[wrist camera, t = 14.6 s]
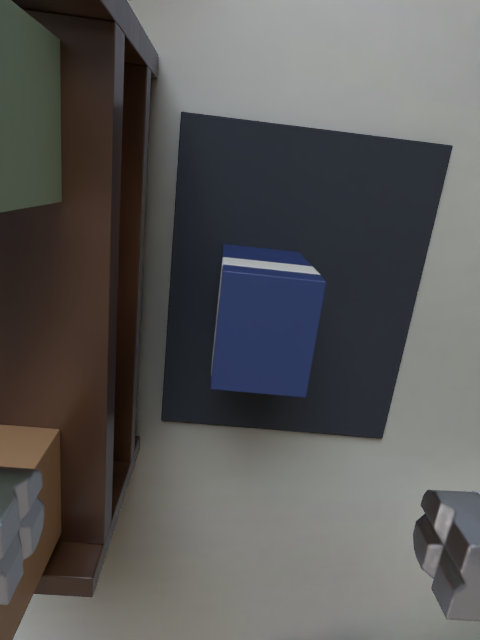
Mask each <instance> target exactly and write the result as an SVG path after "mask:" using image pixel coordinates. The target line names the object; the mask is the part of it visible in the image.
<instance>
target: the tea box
mask: <svg viewBox="0 0 480 640" xmlns="http://www.w3.org/2000/svg"><path fill="white" fill-rule="evenodd" d="M325 287H326V281H325V280H324V279H323V278H322V277H321V275H320V274H319V273H318V271H317V270H316V269H315V268H314V267H312V266H311V265H310V264H309V262H308V261H307V260H306V259H305V258H304V257H303V256H302V255H301V254H300V253H299V252H292V251H283V250H274V249H265V248H256V247H246V246H237V245H228V244H224V245H223V253H222V263H221V273H220V283H219V293H218V303H217V312H216V322H215V332H214V345H213V356H212V368H211V387H210V388H211V389H213V390H225V391H236V392H247V393H259V394H270V395H281V396H292V397H304V398H305V397H306V395H307V389H308V383H309V378H310V372H311V366H312V361H313V355H314V349H315V344H316V338H317V332H318V327H319V321H320V315H321V310H322V304H323V299H324V293H325Z"/></svg>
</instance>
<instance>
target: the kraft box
mask: <svg viewBox="0 0 480 640" xmlns="http://www.w3.org/2000/svg"><path fill="white" fill-rule="evenodd" d="M0 466H2V467H16V468H29V469H38V470H39V471H40V472H41V473H42V482H43V487H42V489H41V490H40V492H39V494H38V496H37V497H38V498H39V499H40V500H41V501H42V502H43V503H44V524H43V529H42V532H41V536H40V540H39V542H38V544H37V547H36V549H35V551H34V553H33V554H32V555H31V556H29V557H28V558H26V559H25V560H24V561H23V569H24V574H23V576H22V578H21V580H20V582H19V584H18V586H17V588H16V590H15V592H14V594H13V596H12V598H11V600H10V602H9V604H8V605H0V640H12V639H13V637H14V635H15V633H16V631H17V629H18V626H19V624H20V622H21V620H22V618H23V615H24V613H25V611H26V609H27V607H28V604H29V602H30V600H31V598H32V596H33V594H34V591H35V589H36V587H37V585H38V583H39V580H40V578H41V576H42V574H43V572H44V570H45V567H46V565H47V563H48V561H49V559H50V556H51V554H52V552H53V550H54V548H55V546H56V543H57V541H58V539H59V537H60V535H61V471H60V429H52V428H39V427H26V426H14V425H1V424H0Z"/></svg>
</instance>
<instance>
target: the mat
mask: <svg viewBox="0 0 480 640" xmlns="http://www.w3.org/2000/svg"><path fill="white" fill-rule="evenodd" d="M451 151H452V146H451V145H443V144H435V143H427V142H419V141H411V140H403V139H395V138H387V137H379V136H371V135H363V134H355V133H347V132H339V131H331V130H323V129H315V128H307V127H299V126H291V125H283V124H275V123H267V122H259V121H251V120H243V119H235V118H227V117H219V116H211V115H203V114H195V113H187V112H181V124H180V140H179V155H178V171H177V186H176V202H175V217H174V233H173V248H172V264H171V279H170V295H169V310H168V325H167V341H166V356H165V372H164V387H163V403H162V418H161V420H162V421H175V422H187V423H199V424H211V425H224V426H236V427H248V428H261V429H273V430H285V431H297V432H310V433H322V434H334V435H346V436H359V437H371V438H382V437H383V433H384V429H385V425H386V421H387V416H388V412H389V408H390V404H391V400H392V396H393V391H394V387H395V383H396V379H397V375H398V371H399V367H400V362H401V358H402V354H403V350H404V346H405V342H406V337H407V333H408V329H409V325H410V321H411V317H412V313H413V308H414V304H415V300H416V296H417V292H418V288H419V283H420V279H421V275H422V271H423V267H424V263H425V259H426V254H427V250H428V246H429V242H430V238H431V234H432V229H433V225H434V221H435V217H436V213H437V209H438V205H439V200H440V196H441V192H442V188H443V184H444V180H445V175H446V171H447V167H448V163H449V159H450V155H451ZM224 244H228V245H237V246H246V247H256V248H265V249H274V250H283V251H292V252H299V253H300V254H301V255H302V256H303V257H304V258H305V259H306V260H307V261H308V262H309V264H310V265H311V266H312V267H314V268H315V269H316V270H317V271H318V273H319V274H320V275H321V277H322V278H323V279H324V280H325V281H326V287H325V293H324V299H323V304H322V310H321V315H320V321H319V327H318V332H317V338H316V344H315V349H314V355H313V361H312V366H311V372H310V378H309V383H308V389H307V395H306V397H305V398H304V397H292V396H281V395H270V394H259V393H247V392H236V391H225V390H213V389H211V388H210V387H211V368H212V356H213V345H214V332H215V322H216V312H217V303H218V293H219V283H220V273H221V263H222V253H223V245H224Z"/></svg>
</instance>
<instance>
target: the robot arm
mask: <svg viewBox="0 0 480 640" xmlns="http://www.w3.org/2000/svg"><path fill="white" fill-rule="evenodd" d="M42 487H43V482H42V473H41V472H40V471H39V470H38V469H29V468H16V467H2V466H0V605H8V604H9V602H10V600H11V598H12V596H13V594H14V592H15V590H16V588H17V586H18V584H19V582H20V580H21V578H22V576H23V574H24V569H23V561H24V560H25V559H26V558H28V557H29V556H31V555H32V554H33V553H34V551H35V549H36V547H37V544H38V542H39V540H40V536H41V532H42V529H43V524H44V503H43V502H42V501H41V500H40V499H39V498H38V497H37V496H38V494H39V492H40V490H41V489H42ZM421 507H422V508H423V510H424V512H425V514H424V515H423V516H422V517H421V518H420V519H418V520H417V521H416V524H415V528H414V533H413V542H414V550H415V554H416V558H417V560H418V562H419V564H420V566H421V569H422V570H423V571H425V572H426V573H427V574H428V575H429V576H431V577H432V578H433V579H434V580H433V584H432V588H431V589H432V591H433V593H434V595H435V597H436V599H437V601H438V603H439V605H440V607H441V609H442V611H443V613H444V615H445V617H446V619H449V620H465V621H480V491H473V492H462V491H441V490H427V491H426V493H425V494H424V495H423V499H422V502H421Z"/></svg>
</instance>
